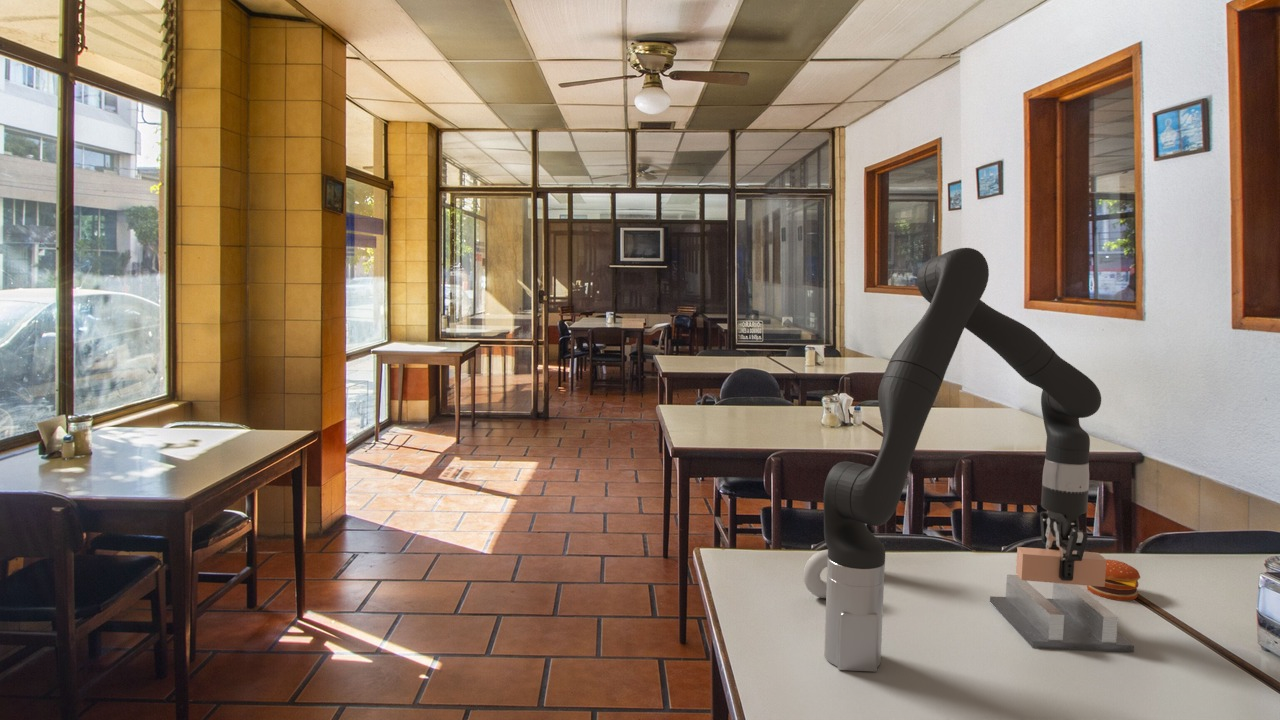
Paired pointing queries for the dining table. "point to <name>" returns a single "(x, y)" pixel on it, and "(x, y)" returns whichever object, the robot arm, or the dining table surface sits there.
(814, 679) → the dining table surface
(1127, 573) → the hamburger
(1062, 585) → the aluminium rail channel
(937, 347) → the robot arm
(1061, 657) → the dining table surface
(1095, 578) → the clay strip
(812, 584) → the donut
